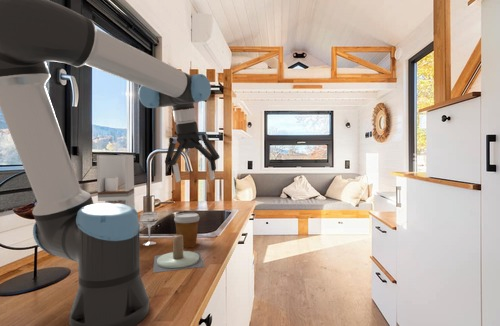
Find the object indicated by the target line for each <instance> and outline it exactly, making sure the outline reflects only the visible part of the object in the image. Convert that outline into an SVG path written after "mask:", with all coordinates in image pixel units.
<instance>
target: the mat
mask: <svg viewBox="0 0 500 326" xmlns="http://www.w3.org/2000/svg"><path fill="white" fill-rule="evenodd" d="M194 252H195V253H197V254H198V255H199V261H198V262H197V263H196V264H194V265H191V266H188V267H184V268H177V269H167V268H162V267H160V266H158V265H157V259H158V258H159V257H160V256H162V255H163V254H158V255H154V257H153V266H152V267H153V268H152V274H157V273H165V272H171V271H179V270H181V271H182V270H188V269H195V268H196V269H197V268H198V269H199V268H206V266H205V265H206V264H205V262H204V259H203V257H202V254H201V252H200V250H196V251H194Z"/></svg>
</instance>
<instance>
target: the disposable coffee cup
mask: <svg viewBox="0 0 500 326" xmlns="http://www.w3.org/2000/svg"><path fill="white" fill-rule="evenodd" d="M200 219H201V218H200V215H199V214H198V213H196V212H182V213H177V214H175V216H174V219H173V220H174V223H175V227H176V228H175V229H176V235H183V249H188V248H193V247H195V246H196V245H197V238H198V229H199V221H200Z"/></svg>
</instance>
